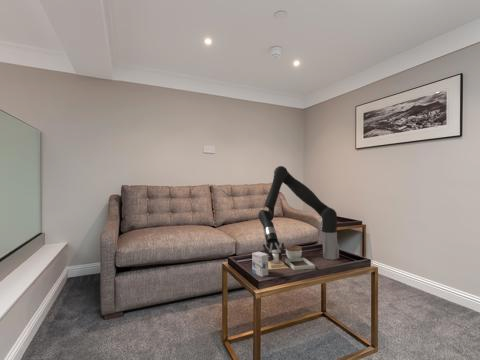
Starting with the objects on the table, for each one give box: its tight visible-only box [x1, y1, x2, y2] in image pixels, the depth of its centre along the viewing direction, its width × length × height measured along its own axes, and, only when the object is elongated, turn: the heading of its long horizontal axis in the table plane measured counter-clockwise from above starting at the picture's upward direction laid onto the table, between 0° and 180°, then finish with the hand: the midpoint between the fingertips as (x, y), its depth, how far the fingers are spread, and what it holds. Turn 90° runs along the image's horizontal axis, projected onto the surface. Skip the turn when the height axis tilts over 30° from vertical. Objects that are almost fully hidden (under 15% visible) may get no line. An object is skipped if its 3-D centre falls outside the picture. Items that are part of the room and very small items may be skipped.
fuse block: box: [268, 260, 289, 270], centre depth 150 cm, size 12×12×2 cm
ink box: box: [251, 251, 269, 278], centre depth 137 cm, size 9×5×12 cm, turn 35°
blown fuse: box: [271, 250, 280, 264], centre depth 150 cm, size 4×4×9 cm
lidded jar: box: [285, 244, 303, 259], centre depth 165 cm, size 11×11×9 cm
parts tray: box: [284, 257, 316, 271], centre depth 150 cm, size 13×17×2 cm
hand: (276, 259), depth 148 cm, fingers open, 4 cm apart
